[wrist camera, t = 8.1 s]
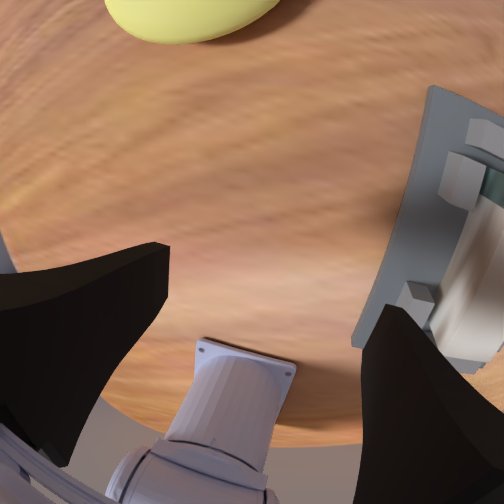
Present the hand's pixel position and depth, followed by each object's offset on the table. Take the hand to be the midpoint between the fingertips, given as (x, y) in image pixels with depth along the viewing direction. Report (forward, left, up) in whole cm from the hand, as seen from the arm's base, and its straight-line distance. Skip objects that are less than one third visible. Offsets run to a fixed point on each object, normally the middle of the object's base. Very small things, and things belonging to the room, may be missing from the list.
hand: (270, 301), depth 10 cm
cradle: (+1, -12, -9) cm, 15 cm away
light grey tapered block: (+1, -12, -8) cm, 14 cm away
